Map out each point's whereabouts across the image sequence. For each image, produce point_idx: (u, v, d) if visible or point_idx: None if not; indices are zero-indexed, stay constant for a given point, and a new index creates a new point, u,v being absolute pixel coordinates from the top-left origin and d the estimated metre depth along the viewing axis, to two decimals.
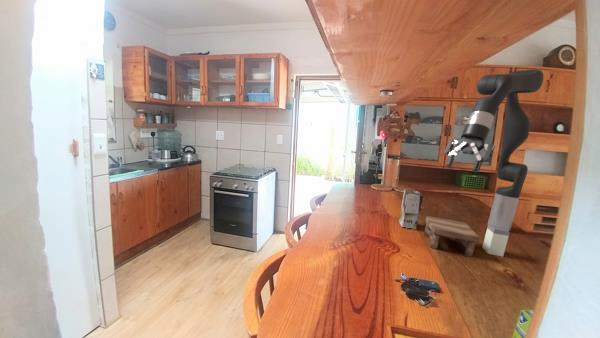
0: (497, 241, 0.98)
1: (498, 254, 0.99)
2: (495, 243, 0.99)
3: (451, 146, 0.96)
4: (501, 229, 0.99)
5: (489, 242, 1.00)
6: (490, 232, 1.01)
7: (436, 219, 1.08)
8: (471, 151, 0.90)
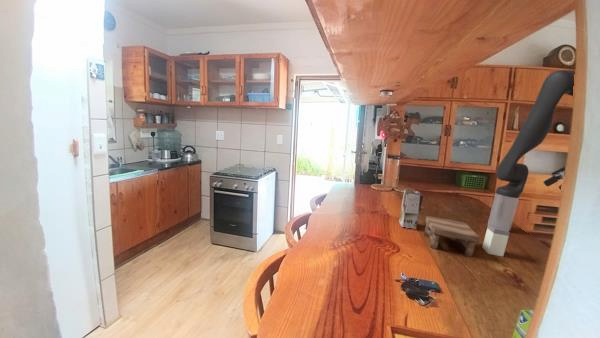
0: (497, 241, 0.98)
1: (498, 254, 0.99)
2: (495, 243, 0.99)
3: None
4: (501, 229, 0.98)
5: (489, 242, 1.00)
6: (490, 232, 1.01)
7: (436, 219, 1.08)
8: None
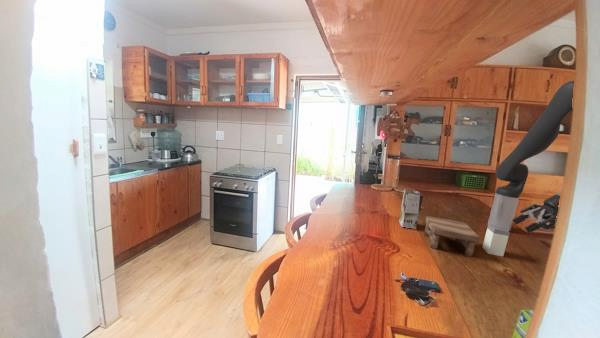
0: (497, 241, 0.98)
1: (498, 254, 0.99)
2: (495, 243, 0.99)
3: None
4: (501, 229, 0.98)
5: (489, 242, 1.00)
6: (490, 232, 1.01)
7: (436, 219, 1.08)
8: None
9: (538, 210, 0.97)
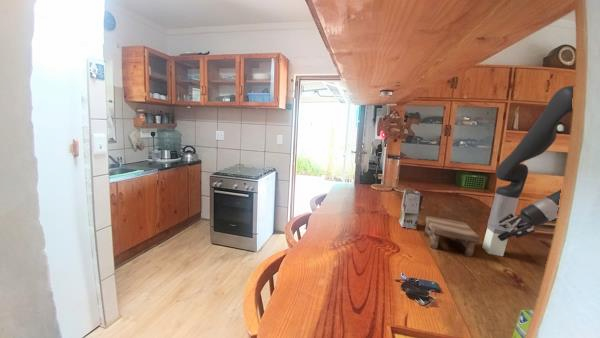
0: (497, 240, 0.98)
1: (498, 254, 0.99)
2: (495, 243, 0.99)
3: None
4: (501, 229, 0.99)
5: (489, 242, 1.00)
6: (490, 232, 1.01)
7: (436, 219, 1.08)
8: None
9: (515, 219, 0.99)
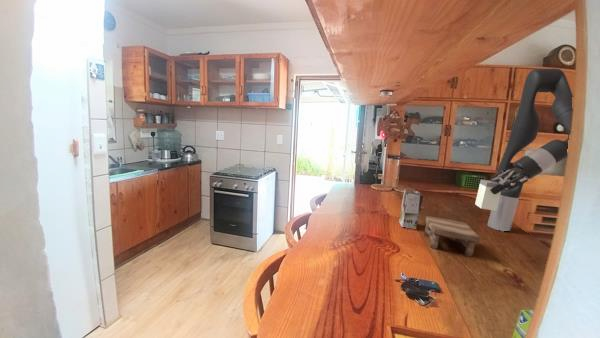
0: (490, 194, 0.95)
1: (491, 208, 0.96)
2: (488, 197, 0.96)
3: None
4: (494, 182, 0.96)
5: (482, 197, 0.97)
6: (483, 186, 0.98)
7: (436, 219, 1.08)
8: None
9: (508, 172, 0.96)
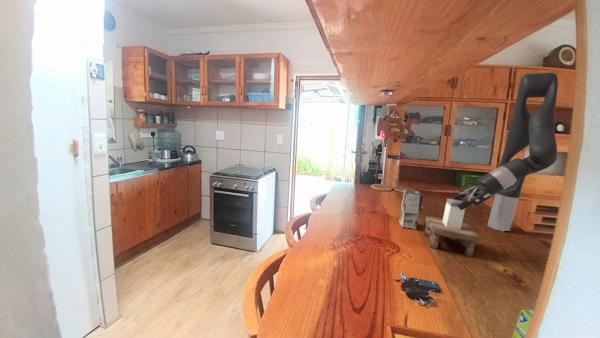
0: (454, 213, 0.99)
1: (456, 227, 1.00)
2: (453, 216, 0.99)
3: None
4: (458, 202, 0.99)
5: (447, 215, 1.01)
6: (448, 205, 1.01)
7: (436, 219, 1.08)
8: None
9: (472, 189, 0.99)
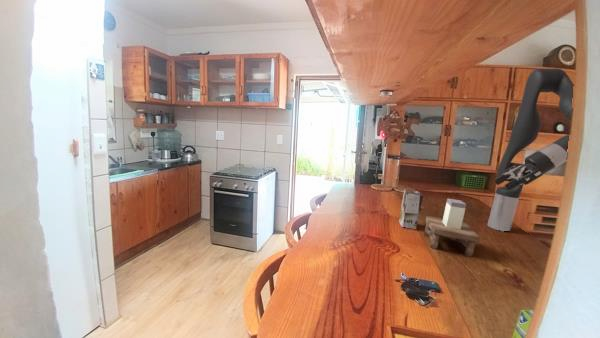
0: (454, 213, 0.99)
1: (456, 227, 1.00)
2: (453, 216, 0.99)
3: None
4: (458, 202, 0.99)
5: (447, 215, 1.01)
6: (448, 205, 1.01)
7: (436, 219, 1.08)
8: None
9: (519, 168, 0.94)
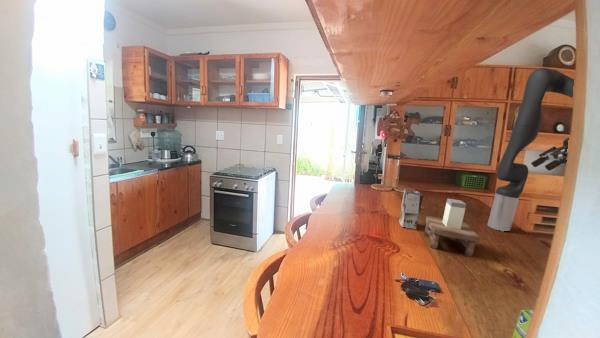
0: (454, 213, 0.99)
1: (456, 227, 1.00)
2: (453, 216, 0.99)
3: None
4: (458, 202, 0.99)
5: (447, 215, 1.01)
6: (448, 205, 1.01)
7: (436, 219, 1.08)
8: None
9: (558, 150, 0.97)
